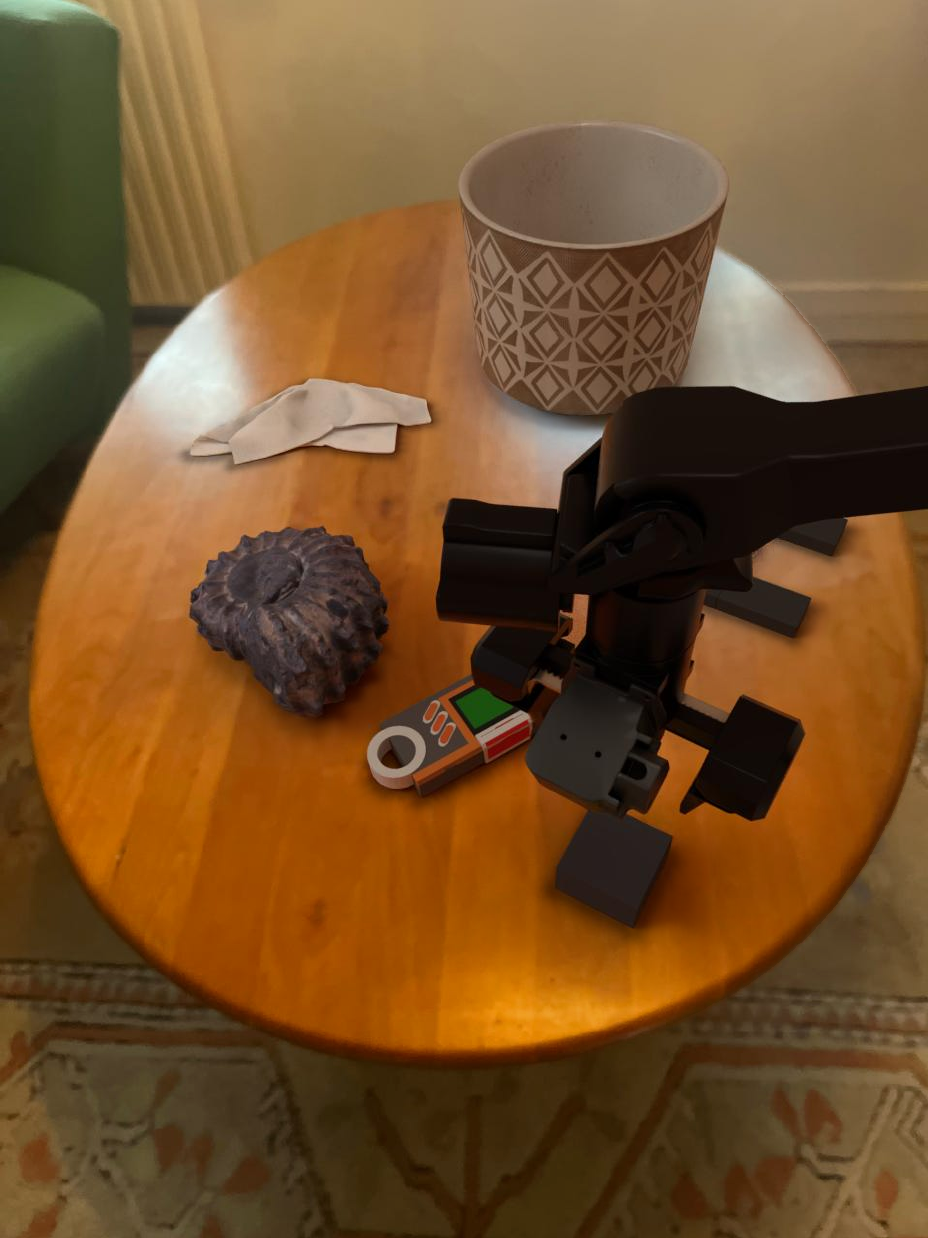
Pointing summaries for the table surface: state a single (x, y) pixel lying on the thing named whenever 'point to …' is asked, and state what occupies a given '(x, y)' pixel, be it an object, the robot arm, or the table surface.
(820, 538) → the flat black pad
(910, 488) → the robot arm
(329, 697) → the seashell
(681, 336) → the planter
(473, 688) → the electronic device
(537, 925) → the table surface
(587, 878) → the dark grey square block
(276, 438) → the cloth
